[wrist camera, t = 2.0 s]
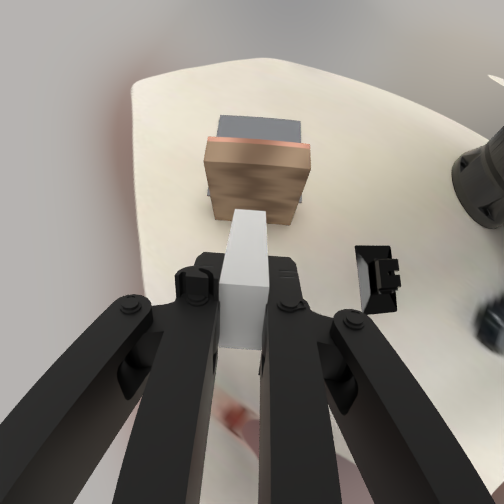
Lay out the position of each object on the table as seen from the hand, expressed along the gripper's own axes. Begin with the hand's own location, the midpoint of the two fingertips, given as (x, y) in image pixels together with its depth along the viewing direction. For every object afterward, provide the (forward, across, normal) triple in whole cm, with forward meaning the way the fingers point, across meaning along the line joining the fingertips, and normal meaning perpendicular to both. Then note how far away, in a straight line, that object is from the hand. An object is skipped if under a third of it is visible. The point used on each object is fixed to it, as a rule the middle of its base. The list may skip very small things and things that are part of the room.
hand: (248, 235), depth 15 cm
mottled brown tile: (+25, 0, -8) cm, 26 cm away
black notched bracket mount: (+20, +18, -14) cm, 30 cm away
